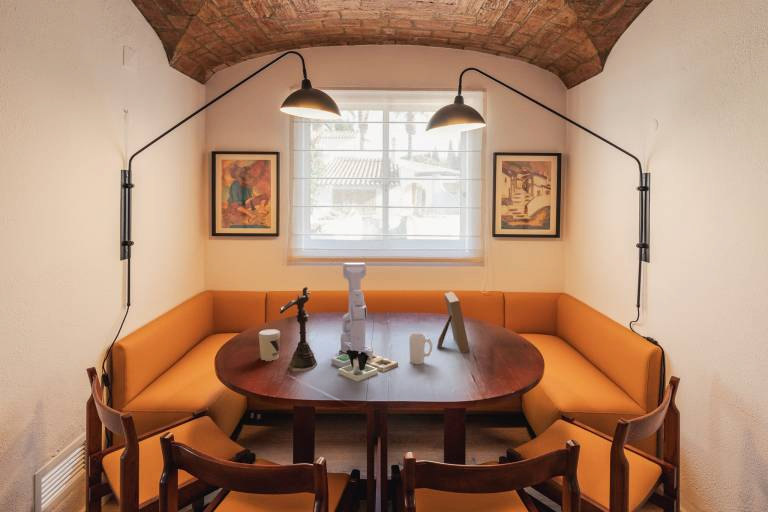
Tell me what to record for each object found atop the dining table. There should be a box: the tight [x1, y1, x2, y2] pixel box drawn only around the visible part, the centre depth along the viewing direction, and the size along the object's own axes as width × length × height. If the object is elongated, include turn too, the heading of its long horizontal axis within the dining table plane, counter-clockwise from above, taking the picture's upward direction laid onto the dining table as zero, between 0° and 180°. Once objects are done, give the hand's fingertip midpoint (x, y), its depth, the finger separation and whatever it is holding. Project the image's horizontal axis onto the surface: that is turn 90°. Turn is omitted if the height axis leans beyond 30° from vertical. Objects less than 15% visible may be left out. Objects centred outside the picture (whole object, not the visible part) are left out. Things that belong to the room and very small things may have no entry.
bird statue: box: [279, 286, 318, 373], centre depth 171 cm, size 17×13×35 cm
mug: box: [409, 332, 433, 365], centre depth 180 cm, size 10×7×12 cm, turn 82°
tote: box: [338, 365, 379, 382], centre depth 166 cm, size 11×11×2 cm
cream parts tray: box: [366, 353, 399, 373], centre depth 177 cm, size 18×9×2 cm, turn 46°
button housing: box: [331, 353, 351, 368], centre depth 176 cm, size 8×8×3 cm
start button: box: [339, 356, 349, 361], centre depth 176 cm, size 4×4×3 cm
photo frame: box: [436, 291, 470, 354], centre depth 203 cm, size 15×22×25 cm
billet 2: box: [367, 346, 374, 360], centre depth 180 cm, size 4×4×6 cm
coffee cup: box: [258, 328, 281, 362], centre depth 183 cm, size 9×9×12 cm
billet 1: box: [353, 357, 363, 375], centre depth 166 cm, size 4×4×6 cm
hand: (358, 368), depth 166 cm, fingers closed on billet 1, 4 cm apart
